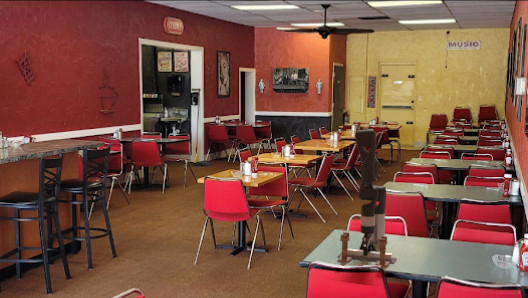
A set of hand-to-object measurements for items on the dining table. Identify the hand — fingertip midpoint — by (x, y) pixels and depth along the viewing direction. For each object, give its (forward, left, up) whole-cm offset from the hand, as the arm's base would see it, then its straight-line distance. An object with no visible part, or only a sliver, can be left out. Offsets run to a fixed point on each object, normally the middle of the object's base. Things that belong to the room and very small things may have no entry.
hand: (367, 253), depth 306 cm
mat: (0, 0, -3) cm, 3 cm away
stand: (+9, 0, -3) cm, 9 cm away
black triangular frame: (-15, -3, -3) cm, 16 cm away
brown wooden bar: (0, 0, -2) cm, 2 cm away
